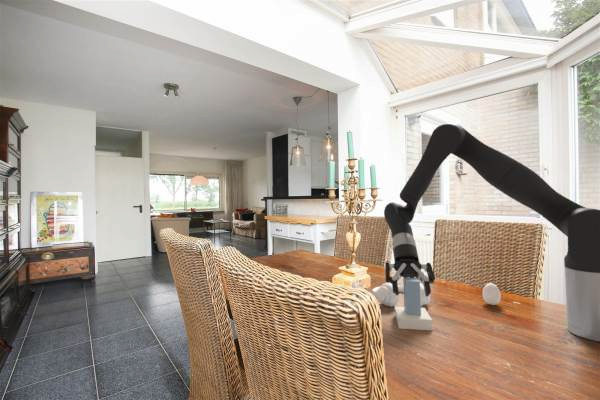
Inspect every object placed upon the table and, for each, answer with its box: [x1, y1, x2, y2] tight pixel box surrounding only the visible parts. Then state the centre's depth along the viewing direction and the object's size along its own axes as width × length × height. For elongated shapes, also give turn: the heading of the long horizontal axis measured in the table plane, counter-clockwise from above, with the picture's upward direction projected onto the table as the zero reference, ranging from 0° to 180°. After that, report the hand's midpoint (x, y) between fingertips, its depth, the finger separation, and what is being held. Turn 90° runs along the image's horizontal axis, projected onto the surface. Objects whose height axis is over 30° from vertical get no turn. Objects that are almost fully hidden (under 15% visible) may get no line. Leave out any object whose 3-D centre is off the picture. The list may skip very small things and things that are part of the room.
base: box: [394, 305, 433, 331], centre depth 83 cm, size 9×9×3 cm
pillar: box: [402, 277, 422, 316], centre depth 83 cm, size 4×4×10 cm
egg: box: [481, 282, 502, 306], centre depth 95 cm, size 5×5×7 cm
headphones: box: [371, 282, 431, 307], centre depth 103 cm, size 20×8×20 cm
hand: (412, 294), depth 82 cm, fingers open, 8 cm apart
